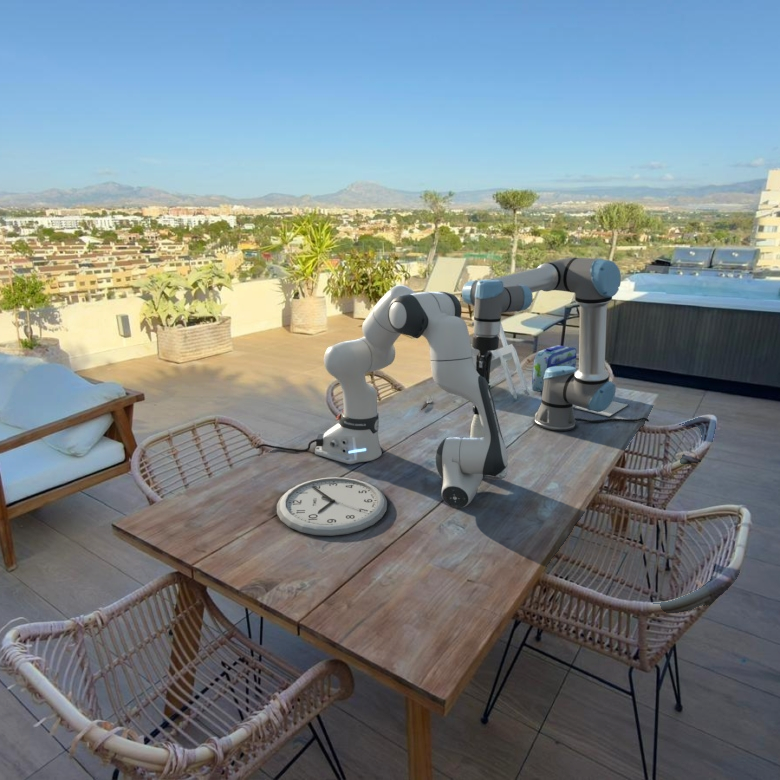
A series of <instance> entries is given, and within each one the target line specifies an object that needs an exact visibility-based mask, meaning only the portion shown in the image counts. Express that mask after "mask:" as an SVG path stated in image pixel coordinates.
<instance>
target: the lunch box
mask: <svg viewBox="0 0 780 780" xmlns="http://www.w3.org/2000/svg"><path fill="white" fill-rule="evenodd" d="M576 362H577V348H576V347H571V346H565V345H553V346H550V347H546V348H545V349H542V350H539V351H538V352H537V353H536V354H535V356H534V358H533V365H532V376H531V377H532V378H531V390H532V391H533V392H537V393H542V391H543V381H544V379H543V378H544V375H545V370H546V369H547V368H549V367H555V366H571V367H575V368H576V364H577V363H576Z"/></svg>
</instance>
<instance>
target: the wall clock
mask: <svg viewBox="0 0 780 780" xmlns="http://www.w3.org/2000/svg"><path fill="white" fill-rule="evenodd" d="M387 509H388V500H387V498H386V496H385V494H384V493H383V492H382V491H381V490H380V489H379V488H377V487H376V486H374V485H372V484H371V483H369V482H365V481H362V480H359V479H355V478H349V477H338V476H337V477H335V476H333V477H332V476H331V477H322V478H317V479H312V480H307V481H305V482H302V483H299V484H297V485H295V486H293V487H292V488H290V489H288V490H287V491H286V492H285V493H284V494H283V495H281V496H280V498H279V499H278V502H277V503H276V515H277V517H278V518H279V520H280V521H281V522H282V523H283V524H285V525H286V526H287V527H288V528H290V529H293V530H295V531H297V532H299V533H303V534H308V535H312V536H327V537H328V536H329V537H331V536H332V537H333V536H342V535H350V534H352V533H356V532H361V531H363V530H366V529H368V528H369V527H372V526H373V525H375V524H376V523H378V522H379V521H380V520H381V519H382V518H383V517H384V516H385V514H386V512H387Z"/></svg>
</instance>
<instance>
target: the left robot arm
mask: <svg viewBox="0 0 780 780" xmlns="http://www.w3.org/2000/svg"><path fill="white" fill-rule="evenodd" d="M462 311H463V310H462V305H461V302H460V300H459V298H458V297H457V296H456V295H455V294H453V293H451V292H447V291H422V292H415V291H414V289H412V288H410V287H409V286H406V285H403V284H399V285H398V284H397V285H394V286H393V287H391V288H390V289H389V290H388V291H387V292H386V293H384V295H382V297H380V299H379V300H378V301H377V303H376V304H374V306H373V308H372V309H371V310H370V312H369V314H368V315H367V316H366V317H365V319H364V321H363V323H362V325H361V326H362V327H361V329H362V330H361V331H362V335H363V336H362V337H360V338H358V339H352V340H346V341H341V342H338V343H336V344H333V345H331V346H328V347H327V349H326V350H325V352H324V355H323V364H324V368H325V370H326V371H327V373H328V374H329V375H330V376H332V377H333V378H334V379H335V380H337V382H338V383H339V385H340V388H341V391H342V392H341V393H342V402H343V404H342V405H343V410H342V411H341V412H340V413H339V414H338V415H337V416H336V421H338V422H337V423H336V424H334V425H333V426H331V427H330V428H329V429H327V430H326V431H325V432H324V433H318V435H317V436H316V438H315V439H313V440H310V442H309V443H308V445H307V448H303V449H298V448H291V447H290V448H289V447H283V446H278V445H271V444H266V443H261V444H259V445H257V446H256V447H255V449H260V448H262V447H267V448H271V449H278V450H283V451H290V452H307V451H309V450H310V449H311V445H312V444H313V443H315V444H316V447H315V448H314V454H315V455H317V456H320V457H324V458H326V459H329V460H334V461H337V462H340V463H343V464H347V465H354V464H357V463H363V462H364V463H365V462H371V461H374V460H376V459H378V458H380V457H381V456H382V454H383V453H382V452H383V451H382V448H381V445H380V438H379V427H380V419H379V417H380V416H379V412H378V391H377V389H376V388H375V387H374V386H373V385H371V384H370V383H368V382H367V379H366V374H368V373H373V372H376V371H381V370H383V369H385V368H387V367H389V366H390V365H392V364H393V363H394V361H395V358H396V348H395V345H394V344H395V342H396V341H397V340H398V339H399V337H400V336H401V335H404V336H408V337H411V338H414V339H420V338H421V337H423V338H425V340H426V341H427V342H428V346H429V347H428V348H429V363H430V364H429V365H430V371H431V376H432V380H433V381H434V383H435V384H436V385H437V386H438V387H439V388H440V389H442V390H444V391H445V392H447V393H449V394H452V395H455V396H457V397H461V398H463V399H465V400H468V401H469V402H470V403H472V405H473V404H474V405H475V406H476V408H477V410H478V413H479V417H480V421H481V425H482V429H483V433H484V437H470V436H467V437H466V436H465V437H464V436H447V437H445V438H443V440H442V441H441V442H440V444H439V445H438V447H437V449H436V452H435V463H436V464H435V465H436V466H435V467H436V469H437V472H438V477H439V478H440V479H441V480H442V487H441V498H442V500H443V502H444V503H445V504H446V505H447V506H448V507H451V508H455V509H462V508H465V507H467V506H469V504H470V503H472V501H473V500H474V498H475V497H476V494H477V492H478V490H479V487H480V486H481V483H482V482H483V479H489V480H493V481H494V480H496V481H500V480H503V479H505V478H506V477H507V473H508V469H509V462H508V461H509V454H508V450H507V447H506V444H505V441H504V437H503V434H502V430H501V427H500V422H499V419H498V415H497V410H496V406H495V403H494V399H493V395H492V391H491V387H490V388H489V385H490V384H488V383H487V381H486V379H485V378H484V377H482V376H480V375H479V374H478V372H477V371H476V369H475V367H474V364H473V358H472V348H471V347H472V342H471V341H472V340H471V337H470V333H469V329H468V325H467V322H466V321H465V320H464V319H463V318H462Z"/></svg>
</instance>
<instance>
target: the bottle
mask: <svg viewBox="0 0 780 780" xmlns="http://www.w3.org/2000/svg"><path fill="white" fill-rule="evenodd" d="M471 421H472V422H471V424H470V435H469V437H484V433H483V429H482V425H481V421H480V417H479V415H477V414H473V417H472V420H471Z"/></svg>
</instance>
